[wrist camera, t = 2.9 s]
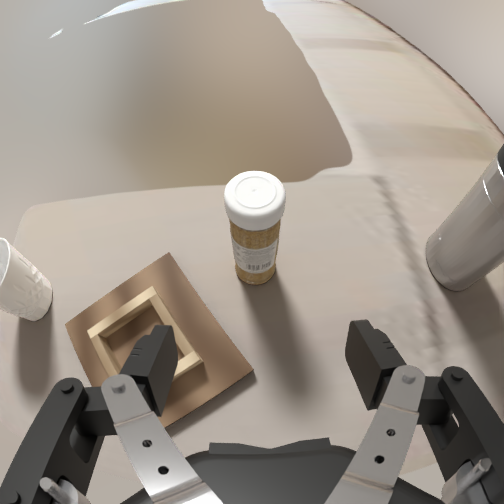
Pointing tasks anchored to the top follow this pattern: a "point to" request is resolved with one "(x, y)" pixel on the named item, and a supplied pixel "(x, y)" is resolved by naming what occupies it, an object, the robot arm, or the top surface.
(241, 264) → the sprinkles bottle
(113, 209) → the top surface
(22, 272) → the white cup
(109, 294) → the holder board
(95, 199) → the top surface
